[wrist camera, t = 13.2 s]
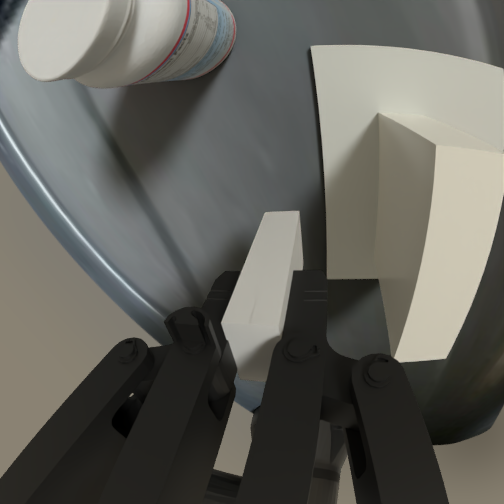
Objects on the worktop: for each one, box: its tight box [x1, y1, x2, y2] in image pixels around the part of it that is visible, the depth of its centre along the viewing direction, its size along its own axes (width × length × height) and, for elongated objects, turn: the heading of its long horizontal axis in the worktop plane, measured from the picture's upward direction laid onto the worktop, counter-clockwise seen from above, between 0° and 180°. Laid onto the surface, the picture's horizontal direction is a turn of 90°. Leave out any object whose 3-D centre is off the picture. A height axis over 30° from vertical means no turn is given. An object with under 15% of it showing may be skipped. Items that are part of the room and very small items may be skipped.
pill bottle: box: [18, 0, 236, 88], centre depth 9 cm, size 6×6×11 cm
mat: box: [311, 45, 504, 279], centre depth 15 cm, size 16×13×1 cm
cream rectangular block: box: [374, 112, 504, 362], centre depth 13 cm, size 10×3×9 cm, turn 8°
